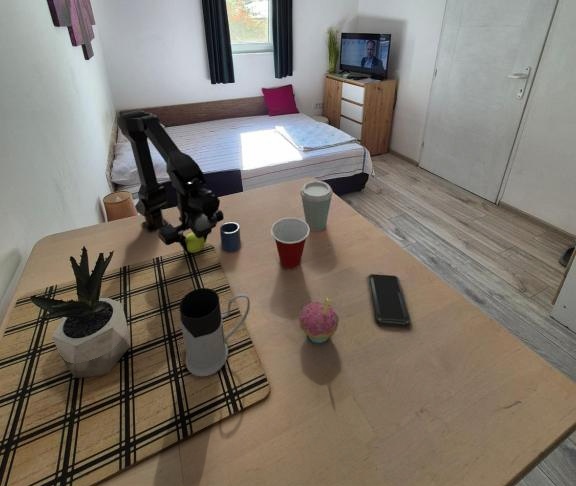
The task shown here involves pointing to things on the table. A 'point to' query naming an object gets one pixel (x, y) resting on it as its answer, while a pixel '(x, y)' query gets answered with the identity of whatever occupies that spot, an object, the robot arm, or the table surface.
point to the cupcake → (318, 321)
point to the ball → (194, 243)
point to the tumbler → (230, 237)
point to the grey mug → (205, 330)
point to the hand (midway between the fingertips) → (195, 247)
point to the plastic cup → (290, 240)
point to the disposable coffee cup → (316, 203)
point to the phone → (388, 300)
